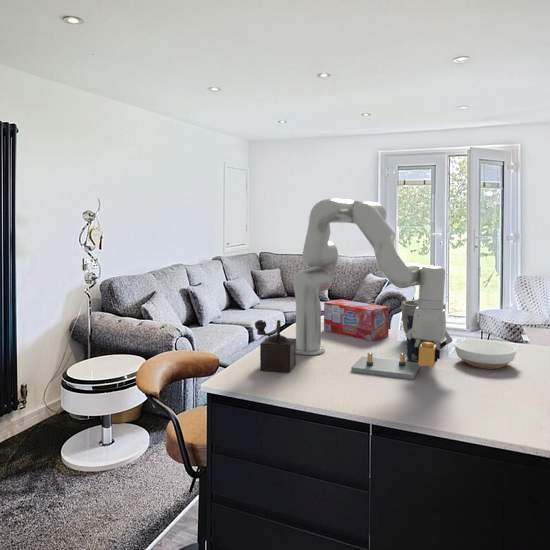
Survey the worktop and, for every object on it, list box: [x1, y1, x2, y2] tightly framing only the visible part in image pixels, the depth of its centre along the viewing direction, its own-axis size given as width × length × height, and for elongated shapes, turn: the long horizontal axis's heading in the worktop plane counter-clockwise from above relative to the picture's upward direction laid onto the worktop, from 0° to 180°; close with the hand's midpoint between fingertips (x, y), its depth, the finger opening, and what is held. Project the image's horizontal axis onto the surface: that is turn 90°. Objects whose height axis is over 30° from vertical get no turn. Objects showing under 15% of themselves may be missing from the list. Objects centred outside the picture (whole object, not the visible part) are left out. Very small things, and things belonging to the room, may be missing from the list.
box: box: [323, 298, 390, 342], centre depth 213 cm, size 27×13×14 cm, turn 42°
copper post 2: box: [399, 352, 406, 366], centre depth 161 cm, size 2×2×6 cm
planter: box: [401, 299, 447, 335], centre depth 198 cm, size 17×17×16 cm
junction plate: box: [350, 355, 421, 380], centre depth 162 cm, size 20×14×2 cm
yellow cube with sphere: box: [417, 342, 437, 368], centre depth 156 cm, size 5×5×7 cm
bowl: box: [454, 339, 517, 370], centre depth 167 cm, size 20×20×6 cm
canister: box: [406, 313, 435, 363], centre depth 171 cm, size 10×10×18 cm
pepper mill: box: [254, 319, 297, 374], centre depth 161 cm, size 16×11×18 cm
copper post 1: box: [367, 352, 373, 366], centre depth 162 cm, size 2×2×6 cm
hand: (427, 359), depth 156 cm, fingers closed on yellow cube with sphere, 4 cm apart
